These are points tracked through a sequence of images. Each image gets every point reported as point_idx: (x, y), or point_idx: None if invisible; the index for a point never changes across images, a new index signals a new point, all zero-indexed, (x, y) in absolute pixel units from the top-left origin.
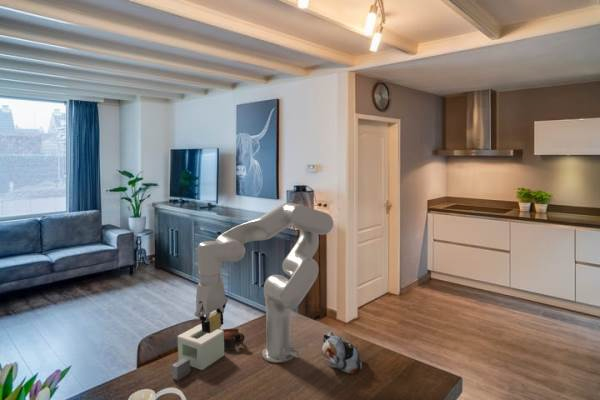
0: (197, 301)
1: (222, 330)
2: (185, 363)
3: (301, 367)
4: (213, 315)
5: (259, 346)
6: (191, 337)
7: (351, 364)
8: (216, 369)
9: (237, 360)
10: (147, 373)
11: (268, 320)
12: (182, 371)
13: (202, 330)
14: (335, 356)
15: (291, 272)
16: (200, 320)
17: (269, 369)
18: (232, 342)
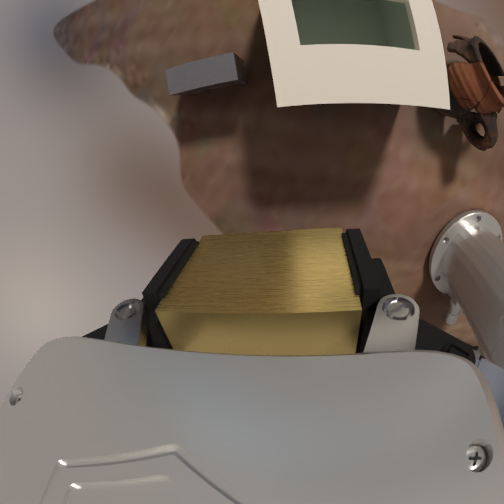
0: (1, 458)
1: (448, 102)
2: (214, 85)
3: (427, 322)
4: (267, 349)
5: (486, 179)
6: (289, 10)
7: None
8: (318, 143)
9: (399, 167)
10: (154, 3)
11: (502, 331)
12: (205, 89)
13: (183, 243)
14: None
15: None
16: (121, 310)
17: (397, 276)
18: (455, 110)
